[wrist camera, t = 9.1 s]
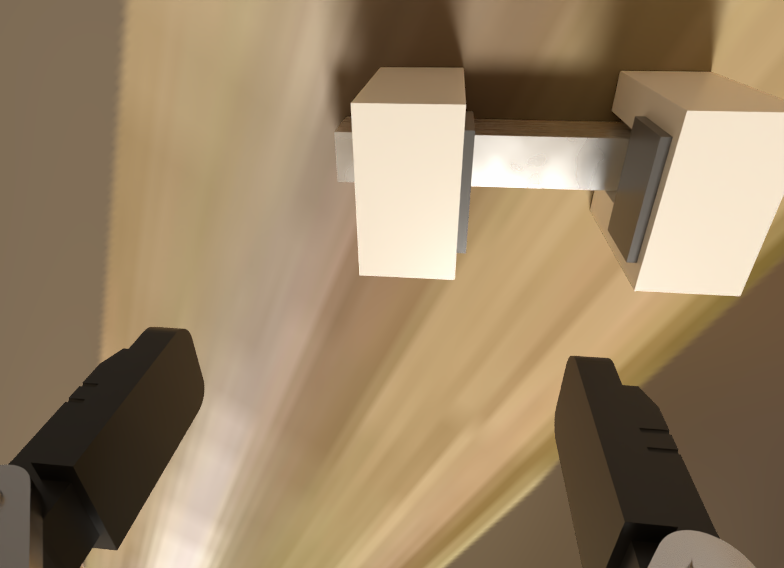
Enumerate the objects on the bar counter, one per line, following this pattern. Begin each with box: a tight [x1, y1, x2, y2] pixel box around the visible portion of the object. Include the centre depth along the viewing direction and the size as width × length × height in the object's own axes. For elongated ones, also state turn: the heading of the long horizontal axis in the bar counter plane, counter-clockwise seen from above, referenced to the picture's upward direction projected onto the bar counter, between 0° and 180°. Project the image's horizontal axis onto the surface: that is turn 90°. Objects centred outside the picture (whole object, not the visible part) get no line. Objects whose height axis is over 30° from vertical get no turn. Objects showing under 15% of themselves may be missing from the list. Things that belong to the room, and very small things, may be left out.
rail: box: [334, 116, 632, 191], centre depth 24 cm, size 2×17×3 cm, turn 90°
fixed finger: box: [590, 71, 784, 296], centre depth 21 cm, size 7×4×8 cm, turn 0°
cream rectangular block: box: [351, 67, 475, 280], centre depth 22 cm, size 7×4×8 cm, turn 0°
